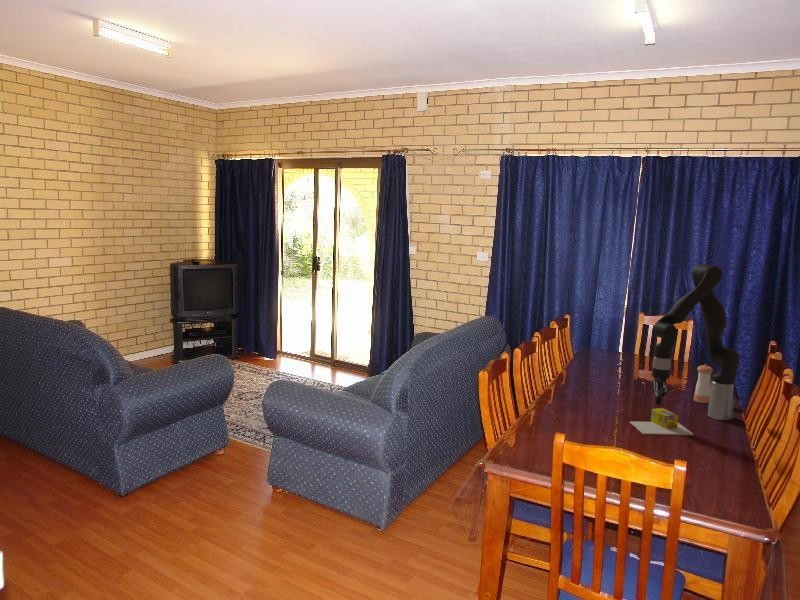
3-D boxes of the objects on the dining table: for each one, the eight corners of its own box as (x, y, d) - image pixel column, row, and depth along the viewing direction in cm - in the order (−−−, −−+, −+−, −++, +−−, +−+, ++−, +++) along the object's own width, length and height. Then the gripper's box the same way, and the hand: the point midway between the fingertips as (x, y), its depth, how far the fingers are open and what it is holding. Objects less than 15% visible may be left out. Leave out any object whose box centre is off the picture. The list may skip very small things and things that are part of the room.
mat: (677, 423, 260) (677, 422, 260) (693, 435, 246) (693, 434, 246) (629, 422, 260) (629, 421, 260) (643, 434, 246) (643, 433, 246)
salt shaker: (711, 403, 289) (715, 367, 286) (696, 402, 290) (699, 365, 288) (707, 399, 296) (710, 363, 293) (691, 398, 297) (695, 362, 295)
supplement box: (649, 420, 261) (666, 429, 251) (650, 408, 260) (667, 416, 250) (660, 419, 263) (677, 428, 252) (661, 407, 262) (678, 415, 252)
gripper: (677, 371, 249) (673, 409, 252) (662, 363, 262) (659, 399, 265) (659, 370, 249) (656, 409, 252) (646, 362, 262) (643, 399, 265)
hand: (657, 404), depth 258 cm, fingers closed
